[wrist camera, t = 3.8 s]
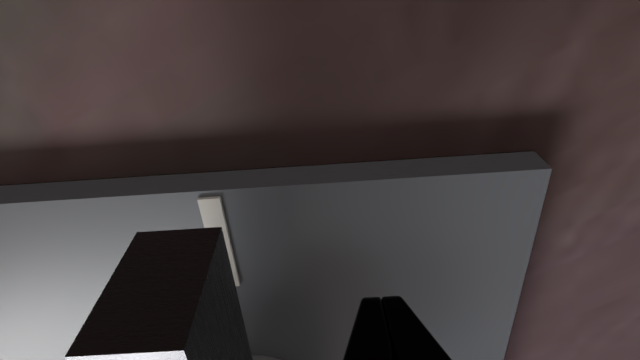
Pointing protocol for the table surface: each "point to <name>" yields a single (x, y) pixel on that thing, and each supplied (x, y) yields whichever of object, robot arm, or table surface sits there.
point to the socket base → (289, 248)
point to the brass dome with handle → (167, 303)
